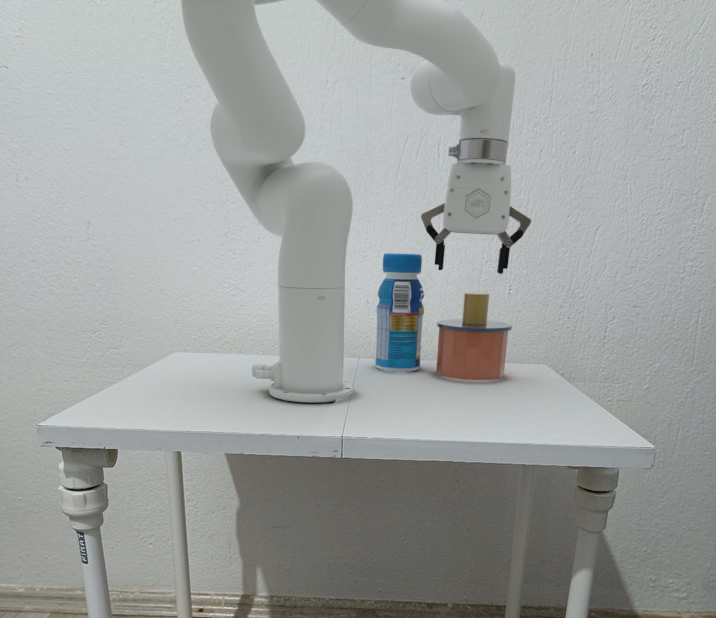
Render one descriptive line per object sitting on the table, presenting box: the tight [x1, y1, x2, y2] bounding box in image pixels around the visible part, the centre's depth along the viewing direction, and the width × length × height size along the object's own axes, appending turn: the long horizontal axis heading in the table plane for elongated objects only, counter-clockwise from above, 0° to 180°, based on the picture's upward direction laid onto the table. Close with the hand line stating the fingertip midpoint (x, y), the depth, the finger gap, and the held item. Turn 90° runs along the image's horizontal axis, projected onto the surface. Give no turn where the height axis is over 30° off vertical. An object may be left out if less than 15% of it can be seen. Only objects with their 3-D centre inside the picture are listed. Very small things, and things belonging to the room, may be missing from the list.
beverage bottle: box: [375, 252, 425, 373], centre depth 118 cm, size 8×8×20 cm
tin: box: [435, 327, 509, 381], centre depth 115 cm, size 12×12×8 cm
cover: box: [436, 292, 513, 332], centre depth 113 cm, size 13×13×6 cm
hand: (470, 271), depth 108 cm, fingers open, 9 cm apart
